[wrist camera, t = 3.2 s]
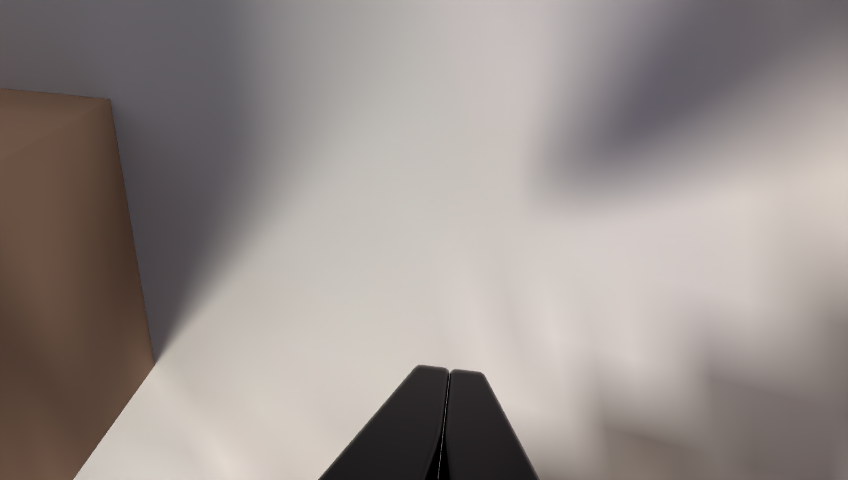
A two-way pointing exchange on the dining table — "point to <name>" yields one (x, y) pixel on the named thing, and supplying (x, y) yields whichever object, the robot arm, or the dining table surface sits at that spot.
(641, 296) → the dining table surface
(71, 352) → the walnut block
